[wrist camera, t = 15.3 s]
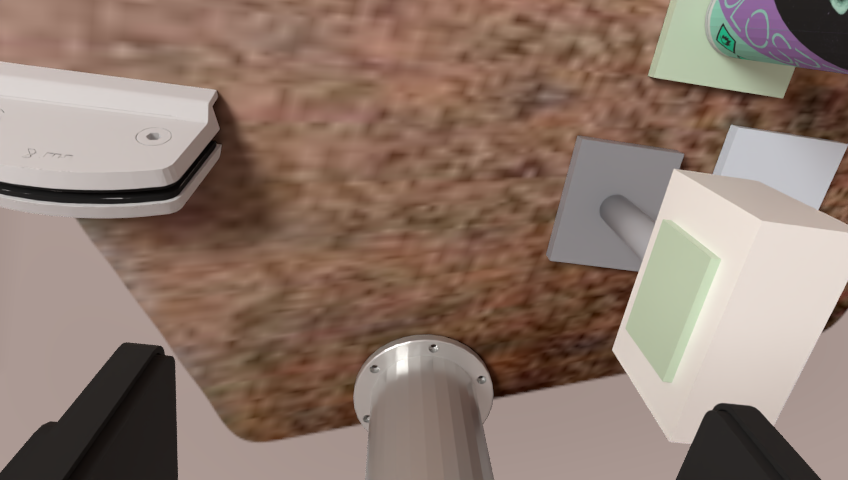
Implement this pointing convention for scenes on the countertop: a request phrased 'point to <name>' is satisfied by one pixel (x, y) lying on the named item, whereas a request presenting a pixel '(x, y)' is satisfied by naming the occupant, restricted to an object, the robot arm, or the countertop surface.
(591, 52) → the countertop surface
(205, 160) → the white bevelled plastic case
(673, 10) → the green tile
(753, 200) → the mounted unit
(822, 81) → the countertop surface
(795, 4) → the spray can
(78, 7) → the countertop surface
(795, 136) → the grey square tile
